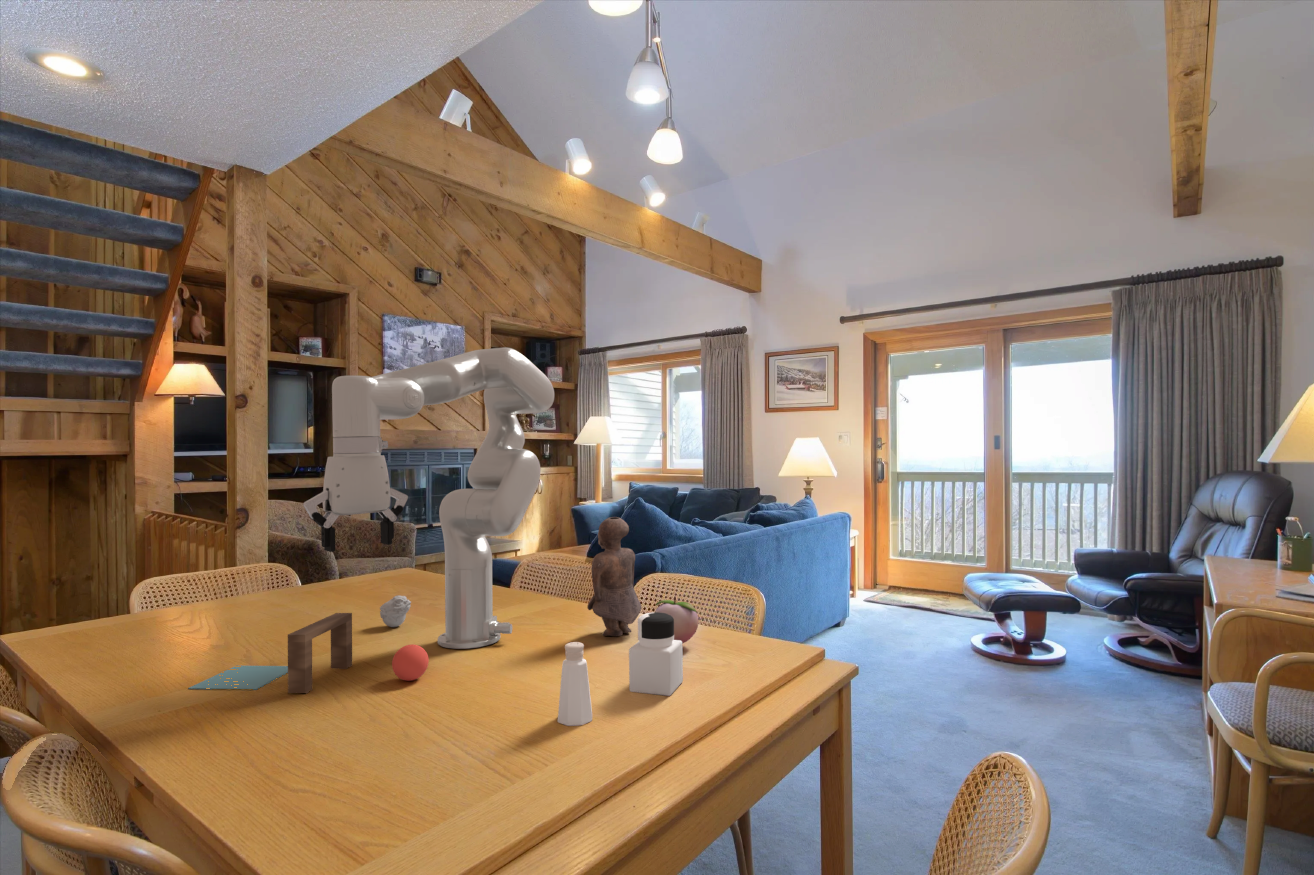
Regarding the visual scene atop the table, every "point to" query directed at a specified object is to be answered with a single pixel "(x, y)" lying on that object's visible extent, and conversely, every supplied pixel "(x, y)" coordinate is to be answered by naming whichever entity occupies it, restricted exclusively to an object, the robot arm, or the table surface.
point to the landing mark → (243, 677)
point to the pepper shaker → (574, 688)
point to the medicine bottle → (655, 656)
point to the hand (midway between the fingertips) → (358, 547)
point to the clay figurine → (614, 580)
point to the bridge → (303, 649)
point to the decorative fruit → (680, 618)
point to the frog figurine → (395, 611)
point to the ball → (410, 662)
